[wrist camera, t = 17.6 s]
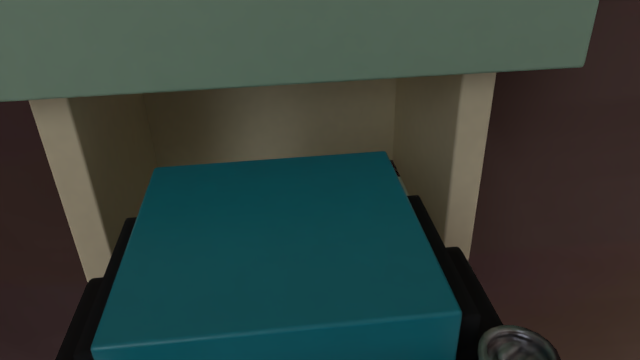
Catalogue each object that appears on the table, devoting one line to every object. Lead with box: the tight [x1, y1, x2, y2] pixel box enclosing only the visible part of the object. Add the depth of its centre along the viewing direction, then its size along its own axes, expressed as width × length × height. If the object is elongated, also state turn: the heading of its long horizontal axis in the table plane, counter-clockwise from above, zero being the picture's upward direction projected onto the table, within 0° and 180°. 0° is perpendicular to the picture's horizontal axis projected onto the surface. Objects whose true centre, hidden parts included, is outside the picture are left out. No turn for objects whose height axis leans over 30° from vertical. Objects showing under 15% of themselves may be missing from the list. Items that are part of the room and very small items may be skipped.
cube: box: [91, 151, 462, 360], centre depth 10 cm, size 5×5×5 cm
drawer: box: [29, 72, 496, 282], centre depth 16 cm, size 18×11×7 cm, turn 1°
